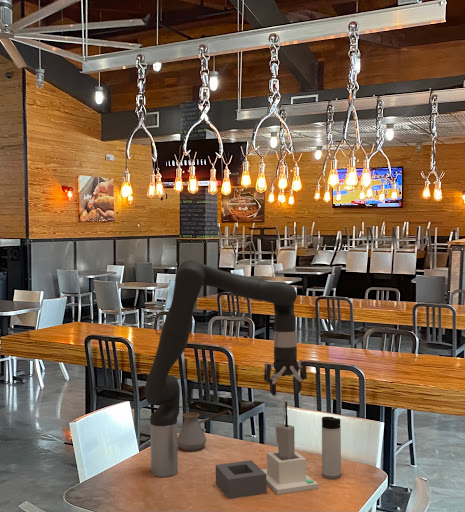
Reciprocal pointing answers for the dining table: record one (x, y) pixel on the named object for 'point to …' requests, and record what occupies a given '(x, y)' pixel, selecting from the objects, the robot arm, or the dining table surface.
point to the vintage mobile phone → (285, 439)
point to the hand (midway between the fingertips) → (285, 393)
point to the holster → (240, 479)
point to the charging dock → (287, 474)
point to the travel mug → (331, 448)
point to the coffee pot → (193, 431)
